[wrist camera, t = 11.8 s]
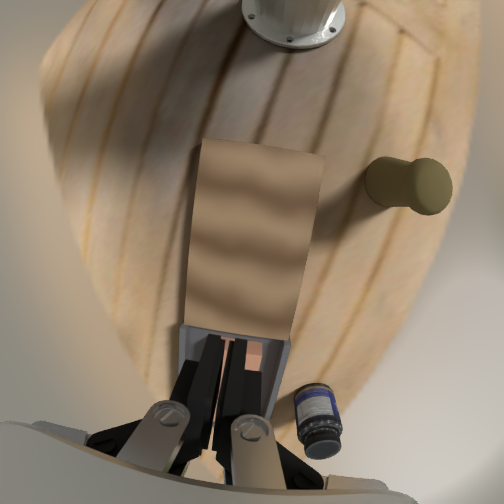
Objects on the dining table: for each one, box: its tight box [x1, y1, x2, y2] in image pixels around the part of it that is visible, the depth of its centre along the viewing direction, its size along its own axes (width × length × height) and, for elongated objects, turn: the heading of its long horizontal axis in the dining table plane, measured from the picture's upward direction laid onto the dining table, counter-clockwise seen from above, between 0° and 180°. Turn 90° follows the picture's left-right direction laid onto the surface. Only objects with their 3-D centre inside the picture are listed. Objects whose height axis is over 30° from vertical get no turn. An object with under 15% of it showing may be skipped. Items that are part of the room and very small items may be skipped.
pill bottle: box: [294, 383, 342, 460], centre depth 34 cm, size 6×6×11 cm
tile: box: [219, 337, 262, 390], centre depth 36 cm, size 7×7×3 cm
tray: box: [179, 320, 291, 427], centre depth 37 cm, size 18×14×3 cm
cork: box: [365, 156, 453, 215], centre depth 26 cm, size 6×6×11 cm
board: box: [184, 138, 325, 341], centre depth 32 cm, size 22×13×2 cm, turn 172°
